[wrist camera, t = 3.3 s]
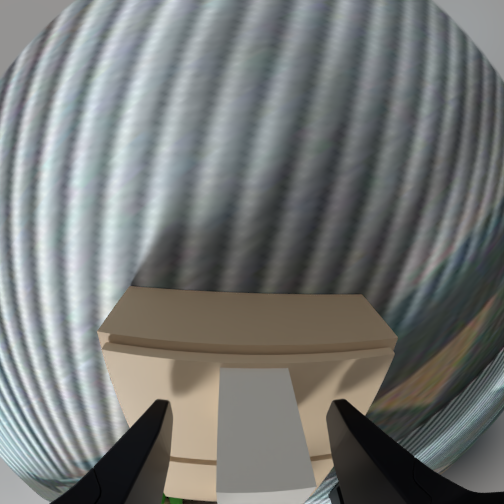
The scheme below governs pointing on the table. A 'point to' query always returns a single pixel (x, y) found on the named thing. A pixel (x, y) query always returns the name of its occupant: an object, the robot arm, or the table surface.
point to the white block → (248, 410)
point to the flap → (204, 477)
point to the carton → (245, 322)
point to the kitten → (171, 500)
